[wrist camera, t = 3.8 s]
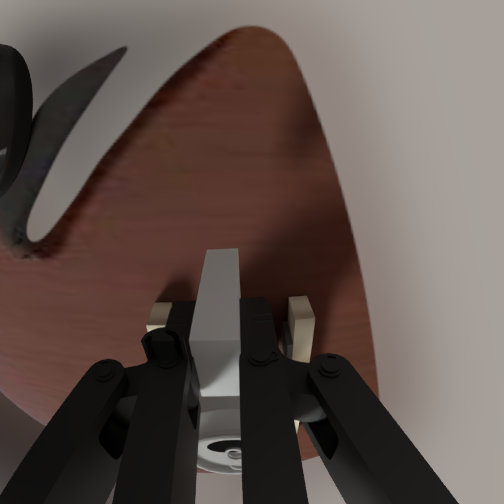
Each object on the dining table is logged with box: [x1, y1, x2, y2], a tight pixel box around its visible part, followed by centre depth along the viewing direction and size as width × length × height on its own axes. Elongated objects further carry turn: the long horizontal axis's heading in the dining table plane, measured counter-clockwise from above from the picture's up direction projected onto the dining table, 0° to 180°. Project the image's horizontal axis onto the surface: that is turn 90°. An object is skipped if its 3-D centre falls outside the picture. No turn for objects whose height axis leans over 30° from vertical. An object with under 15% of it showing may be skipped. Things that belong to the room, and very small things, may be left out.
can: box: [197, 392, 242, 474], centre depth 19 cm, size 8×8×12 cm
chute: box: [146, 296, 315, 433], centre depth 28 cm, size 30×13×3 cm, turn 2°
